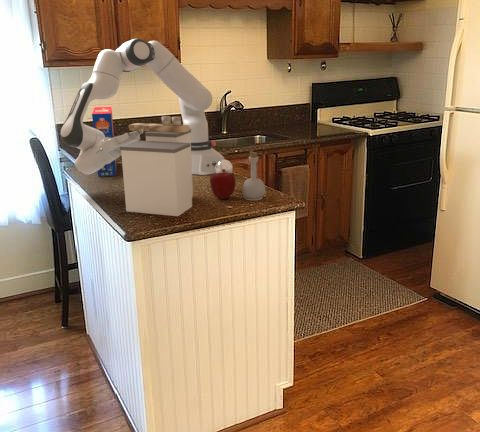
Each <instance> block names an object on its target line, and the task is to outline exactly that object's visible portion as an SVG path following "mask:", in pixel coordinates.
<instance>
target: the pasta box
mask: <svg viewBox="0 0 480 432" xmlns="http://www.w3.org/2000/svg"><path fill="white" fill-rule="evenodd" d="M91 117H92V127H93V128H95V129H97V130H99V131H101V132H103V133H104V135H105V137H109V138H114V137H115V134H114V133H115V132H114V119H113V110H112V106H94V107H93V109H92V113H91ZM111 176H112V177H114V176H117V159H115V160H114V161H112V162H111V163H109V164H106V165H105V166H104V167H103V168H101V169H100V170H98V171H97V177H111Z"/></svg>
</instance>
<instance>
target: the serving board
mask: <svg viewBox="0 0 480 432" xmlns="http://www.w3.org/2000/svg"><path fill="white" fill-rule="evenodd" d="M181 119H182V116H172V117H171V116H170V115H165V116H161V123H145V122H144V123H143V122H136V123H135V122H134V123H132V124H128V130H129V131H131V132H134V131H143V132H149V131H160V132H187V131H190V128H189V125H183V124H182V120H181Z"/></svg>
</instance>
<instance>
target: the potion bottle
mask: <svg viewBox="0 0 480 432" xmlns="http://www.w3.org/2000/svg"><path fill="white" fill-rule="evenodd" d="M259 157H260V156H258V153H257V152H255V151H252V150H250V151H249V156H248V161H249V163H250V178H248V179H245V181H244V183H243V185H242V188H241V192H242V196H243V197H244V200H247V201H251V202H252V201H253V202H255V201H261V200H263V197H264V196H265V194H266V190H267V189H266V186H265V183H264V182H263V180H262V179H261V178H257V163H258V161H259Z"/></svg>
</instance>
